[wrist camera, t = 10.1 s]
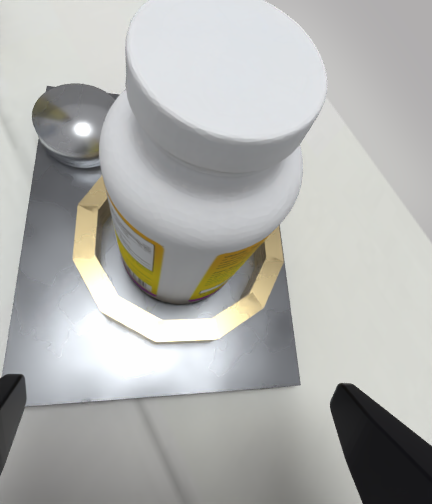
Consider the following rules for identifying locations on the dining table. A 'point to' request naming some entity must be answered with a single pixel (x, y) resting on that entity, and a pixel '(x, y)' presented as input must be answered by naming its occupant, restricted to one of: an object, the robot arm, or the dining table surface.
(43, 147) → the carrier plate
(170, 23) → the supplement bottle
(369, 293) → the dining table surface
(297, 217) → the dining table surface
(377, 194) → the dining table surface
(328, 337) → the dining table surface
